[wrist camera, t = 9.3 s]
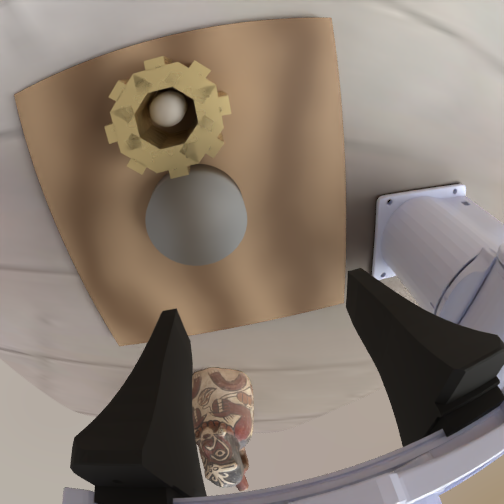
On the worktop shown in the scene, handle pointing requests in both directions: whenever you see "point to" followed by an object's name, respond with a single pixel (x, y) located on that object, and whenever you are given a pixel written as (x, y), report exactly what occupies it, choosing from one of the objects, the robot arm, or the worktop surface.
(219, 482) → the figurine
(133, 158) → the brass gear
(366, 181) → the worktop surface
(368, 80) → the worktop surface
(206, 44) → the carrier plate
